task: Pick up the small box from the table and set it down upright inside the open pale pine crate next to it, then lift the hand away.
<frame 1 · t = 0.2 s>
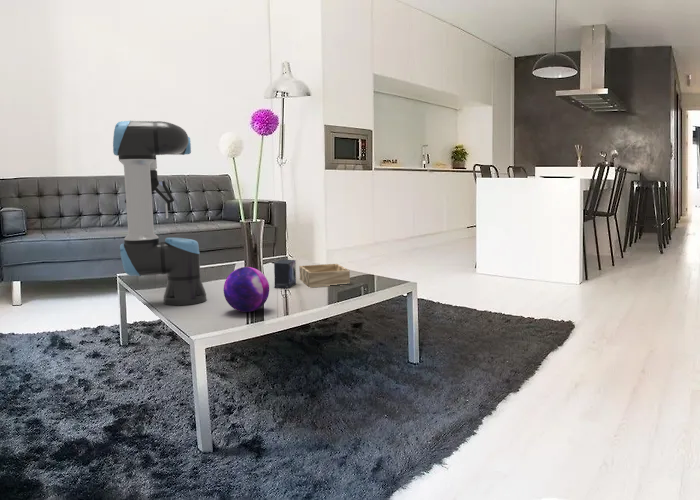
hand: (150, 219, 250), 28 cm above the table, fingers open, 13 cm apart
pine crate: (324, 282, 245), on the table
decorative orb: (247, 312, 192), on the table
small box: (285, 286, 237), on the table
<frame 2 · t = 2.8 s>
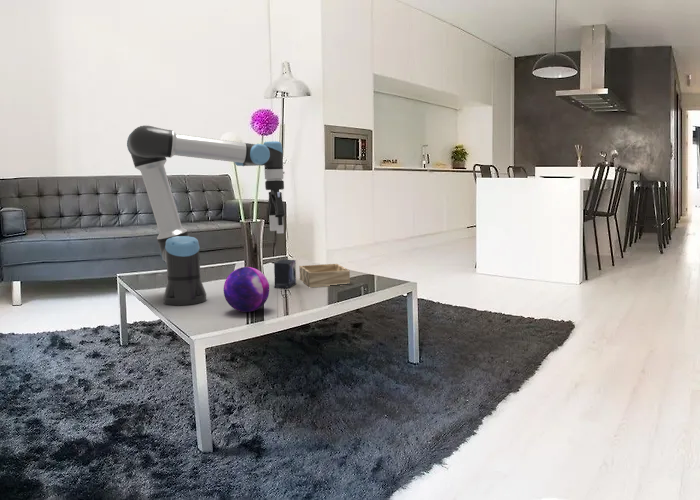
hand: (276, 232, 236), 22 cm above the table, fingers open, 13 cm apart
nothing on the table moved.
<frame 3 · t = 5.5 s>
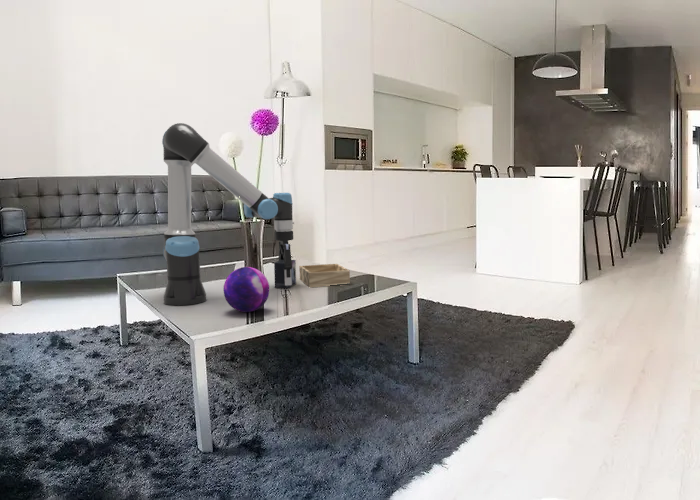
hand: (285, 282, 237), 1 cm above the table, fingers closed on small box, 12 cm apart
small box: (285, 286, 237), on the table, touching gripper
everything else where it was.
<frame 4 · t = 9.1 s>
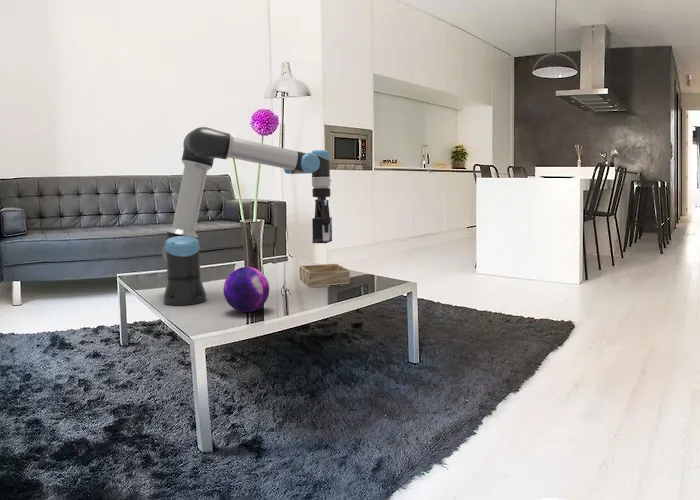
hand: (322, 239, 242), 18 cm above the table, fingers closed on small box, 12 cm apart
small box: (322, 242, 243), point 17 cm above the table, touching gripper
everything else where it was.
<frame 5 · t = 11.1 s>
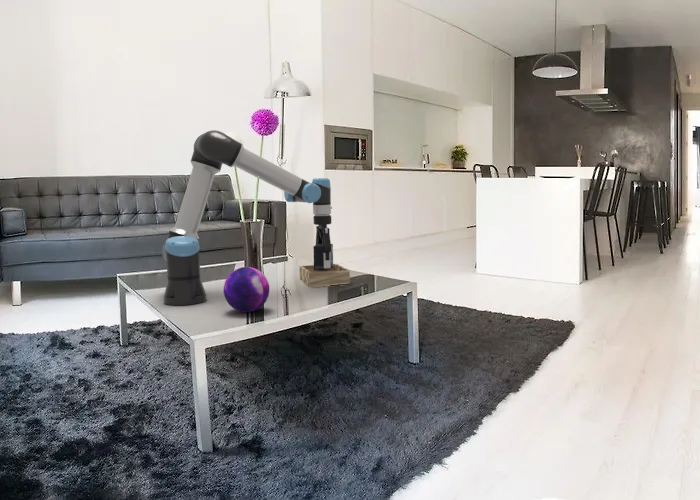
hand: (323, 266, 244), 7 cm above the table, fingers closed on small box, 12 cm apart
small box: (323, 269, 244), point 5 cm above the table, touching gripper
everything else where it was.
when the fingers open (4 cm above the table, at t = 12.8 s): small box drops 2 cm, resting on pine crate.
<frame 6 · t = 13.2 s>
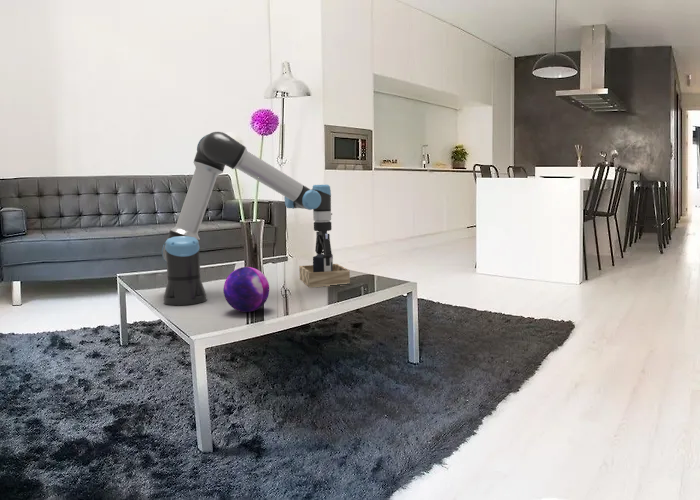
hand: (323, 271, 244), 5 cm above the table, fingers open, 13 cm apart
small box: (323, 280, 245), point 1 cm above the table, touching pine crate
everything else where it was.
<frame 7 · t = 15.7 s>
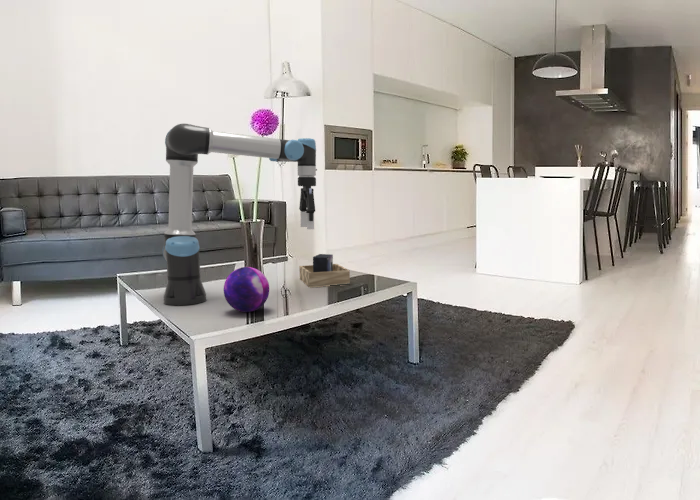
hand: (307, 228, 238), 23 cm above the table, fingers open, 13 cm apart
nothing on the table moved.
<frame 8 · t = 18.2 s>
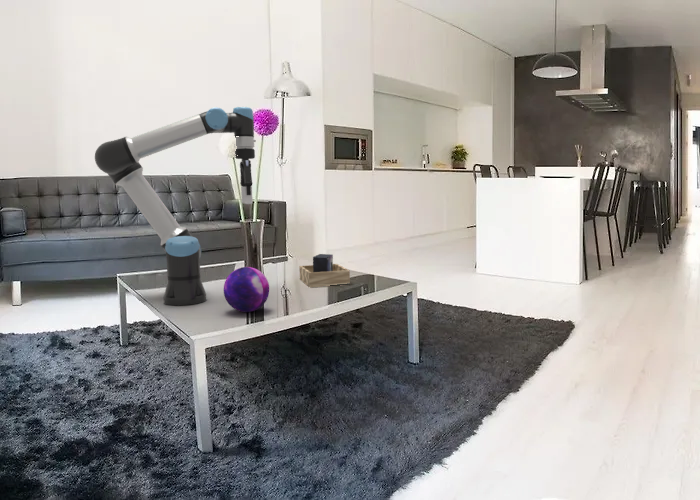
hand: (246, 203, 224), 35 cm above the table, fingers open, 13 cm apart
nothing on the table moved.
at the end: small box inside the target area on the pine crate (0.2 cm from its centre), point 0.8 cm above the pine crate's base; small box tilted 0°; the gripper is holding nothing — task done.
